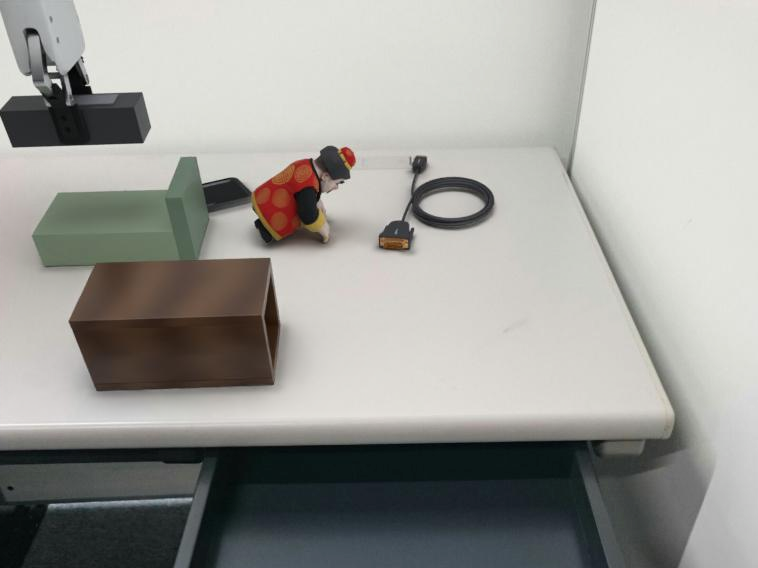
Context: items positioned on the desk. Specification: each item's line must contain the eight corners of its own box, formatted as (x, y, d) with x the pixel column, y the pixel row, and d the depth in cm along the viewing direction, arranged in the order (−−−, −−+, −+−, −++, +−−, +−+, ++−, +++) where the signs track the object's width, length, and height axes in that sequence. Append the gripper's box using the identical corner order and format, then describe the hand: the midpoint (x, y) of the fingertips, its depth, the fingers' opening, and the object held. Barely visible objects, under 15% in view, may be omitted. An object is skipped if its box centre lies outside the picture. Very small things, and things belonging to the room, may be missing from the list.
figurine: (290, 278, 96) (387, 215, 92) (244, 222, 88) (347, 151, 84) (283, 238, 101) (373, 177, 97) (239, 182, 94) (335, 114, 90)
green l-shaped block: (43, 266, 90) (17, 201, 84) (68, 222, 98) (46, 160, 92) (196, 262, 91) (181, 197, 85) (209, 218, 99) (196, 156, 93)
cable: (503, 167, 109) (504, 156, 108) (482, 258, 91) (483, 246, 90) (415, 161, 111) (415, 150, 110) (377, 249, 93) (376, 238, 92)
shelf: (96, 390, 74) (67, 321, 68) (119, 330, 81) (95, 262, 75) (273, 384, 74) (261, 314, 68) (280, 325, 81) (270, 257, 75)
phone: (134, 199, 101) (235, 175, 106) (136, 207, 102) (236, 183, 107) (150, 221, 97) (255, 196, 102) (153, 229, 98) (256, 204, 102)
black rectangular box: (12, 148, 83) (-3, 110, 80) (25, 131, 87) (11, 94, 84) (143, 143, 84) (133, 105, 81) (151, 127, 87) (142, 90, 84)
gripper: (6, -82, 77) (68, 108, 90) (-54, -47, 65) (27, 164, 79) (77, -84, 77) (128, 107, 90) (30, -49, 66) (97, 162, 79)
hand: (81, 132), depth 85 cm, fingers closed on black rectangular box, 5 cm apart
